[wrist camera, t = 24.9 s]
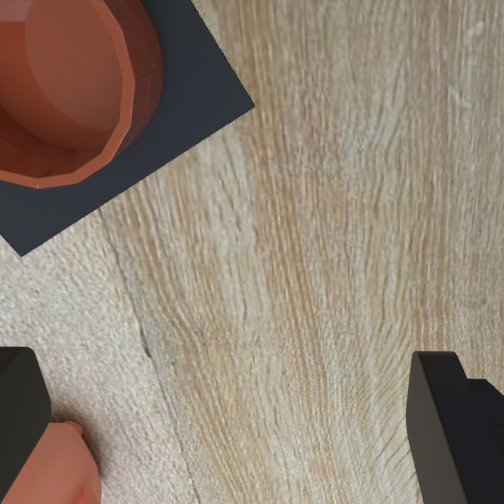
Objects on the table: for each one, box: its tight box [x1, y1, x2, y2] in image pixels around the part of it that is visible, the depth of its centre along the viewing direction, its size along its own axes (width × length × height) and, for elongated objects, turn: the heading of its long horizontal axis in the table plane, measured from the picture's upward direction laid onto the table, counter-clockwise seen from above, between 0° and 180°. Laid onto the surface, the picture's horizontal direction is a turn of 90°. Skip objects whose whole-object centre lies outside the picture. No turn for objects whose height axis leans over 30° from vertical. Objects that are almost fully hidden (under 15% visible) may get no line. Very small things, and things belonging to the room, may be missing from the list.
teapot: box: [1, 421, 101, 504], centre depth 39 cm, size 14×12×10 cm
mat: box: [0, 0, 255, 257], centre depth 28 cm, size 20×20×1 cm
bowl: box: [0, 0, 164, 189], centre depth 25 cm, size 11×11×6 cm
